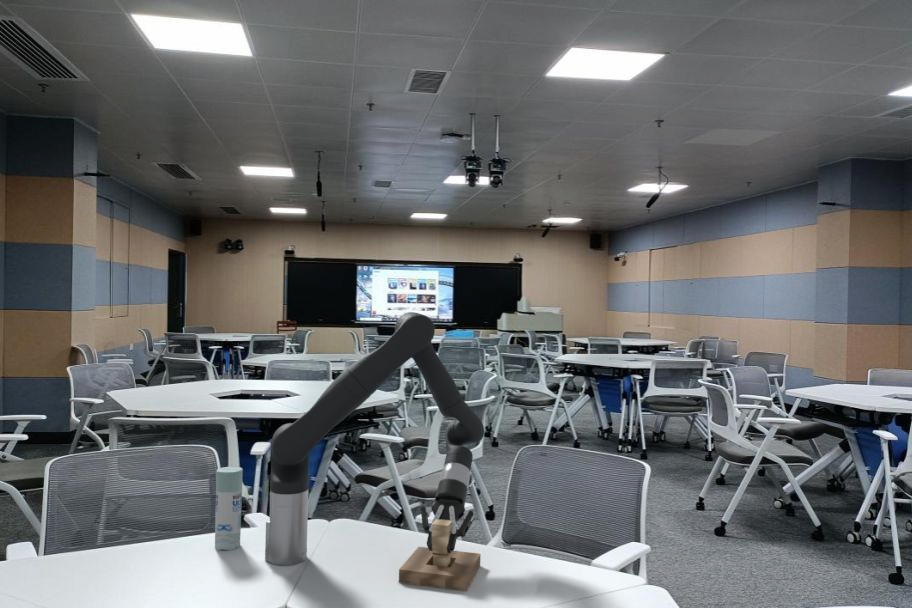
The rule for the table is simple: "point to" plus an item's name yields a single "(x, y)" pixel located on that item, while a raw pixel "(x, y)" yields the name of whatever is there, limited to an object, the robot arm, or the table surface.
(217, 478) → the spray paint can
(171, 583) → the table surface
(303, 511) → the robot arm
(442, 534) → the oak peg
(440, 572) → the walnut board
